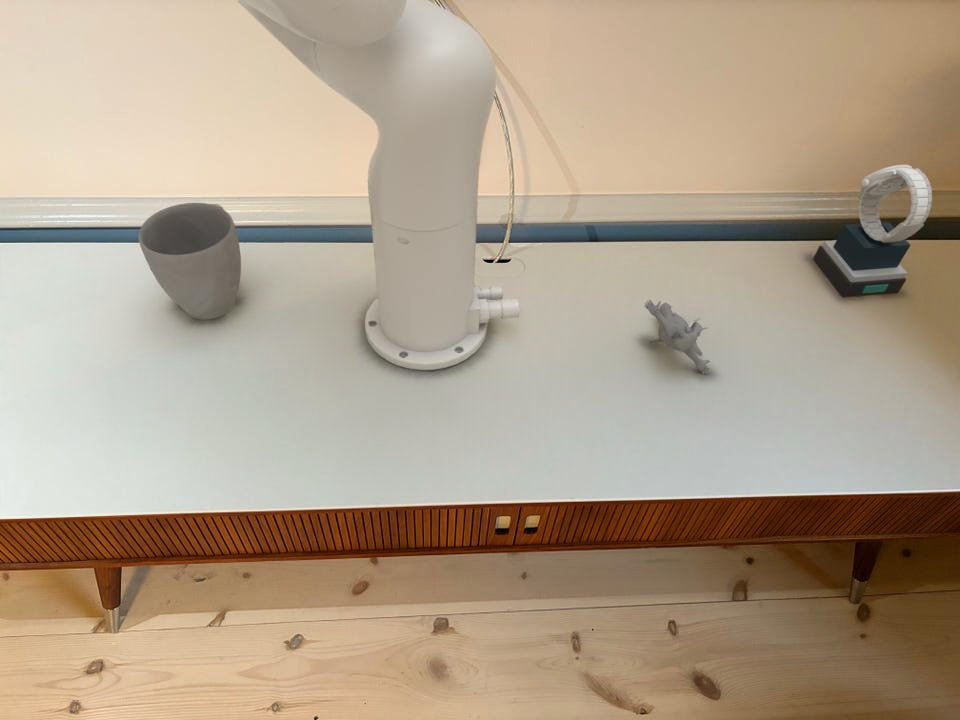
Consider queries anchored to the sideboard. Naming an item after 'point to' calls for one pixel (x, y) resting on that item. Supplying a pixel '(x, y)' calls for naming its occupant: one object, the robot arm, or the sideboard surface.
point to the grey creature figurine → (678, 333)
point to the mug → (194, 257)
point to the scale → (857, 275)
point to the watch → (881, 240)
